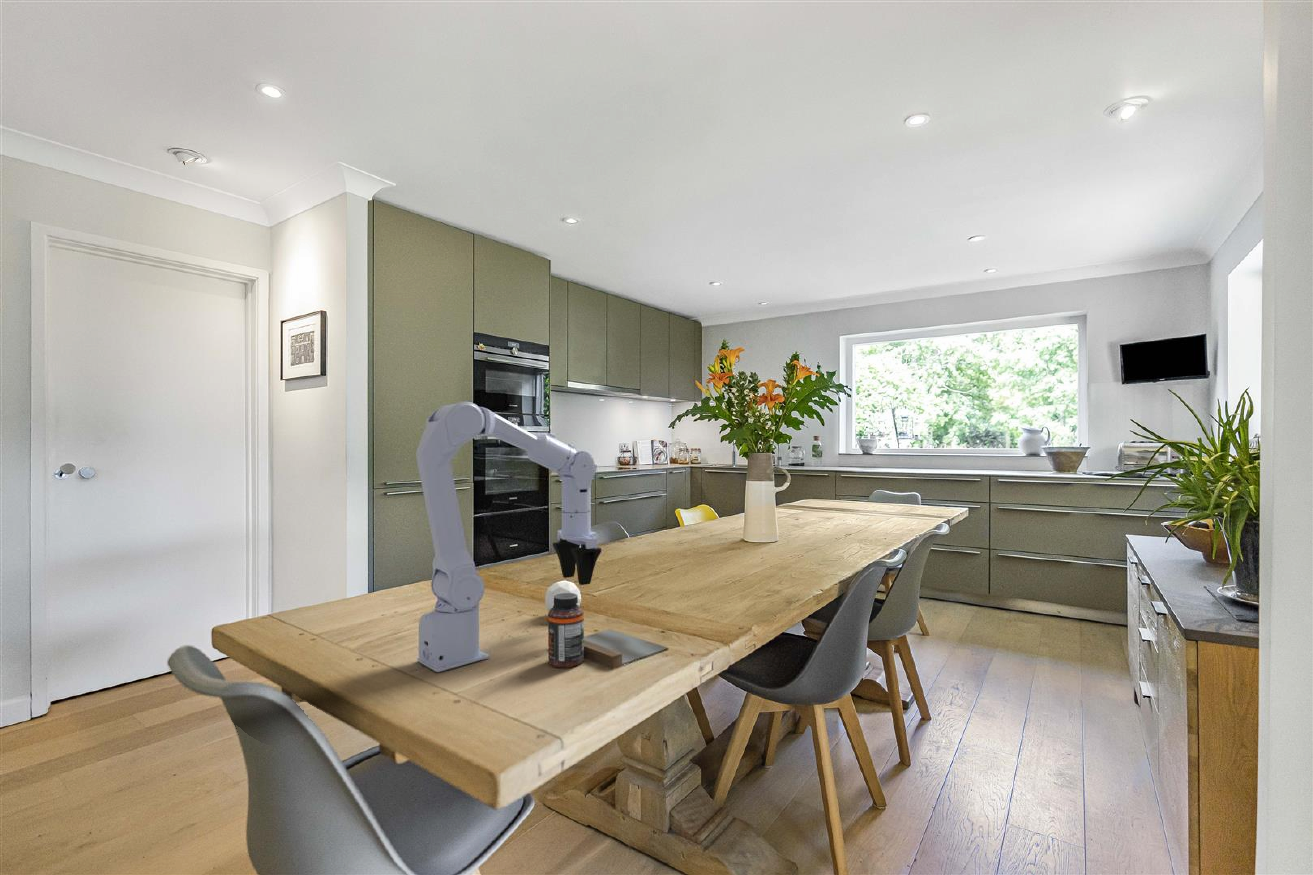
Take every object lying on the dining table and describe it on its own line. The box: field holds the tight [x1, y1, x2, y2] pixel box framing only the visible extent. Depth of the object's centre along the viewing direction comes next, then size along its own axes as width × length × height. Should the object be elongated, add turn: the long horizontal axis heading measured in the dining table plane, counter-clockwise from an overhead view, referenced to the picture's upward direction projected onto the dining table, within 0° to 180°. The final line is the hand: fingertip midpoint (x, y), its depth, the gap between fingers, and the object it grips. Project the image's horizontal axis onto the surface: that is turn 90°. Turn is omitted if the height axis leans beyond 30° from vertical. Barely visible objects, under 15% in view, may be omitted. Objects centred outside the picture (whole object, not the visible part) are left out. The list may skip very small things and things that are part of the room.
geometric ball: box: [544, 580, 582, 612], centre depth 128 cm, size 8×8×8 cm
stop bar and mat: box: [584, 629, 669, 670], centre depth 107 cm, size 13×16×2 cm
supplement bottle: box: [547, 593, 585, 669], centre depth 100 cm, size 6×6×11 cm
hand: (576, 580), depth 117 cm, fingers open, 7 cm apart
